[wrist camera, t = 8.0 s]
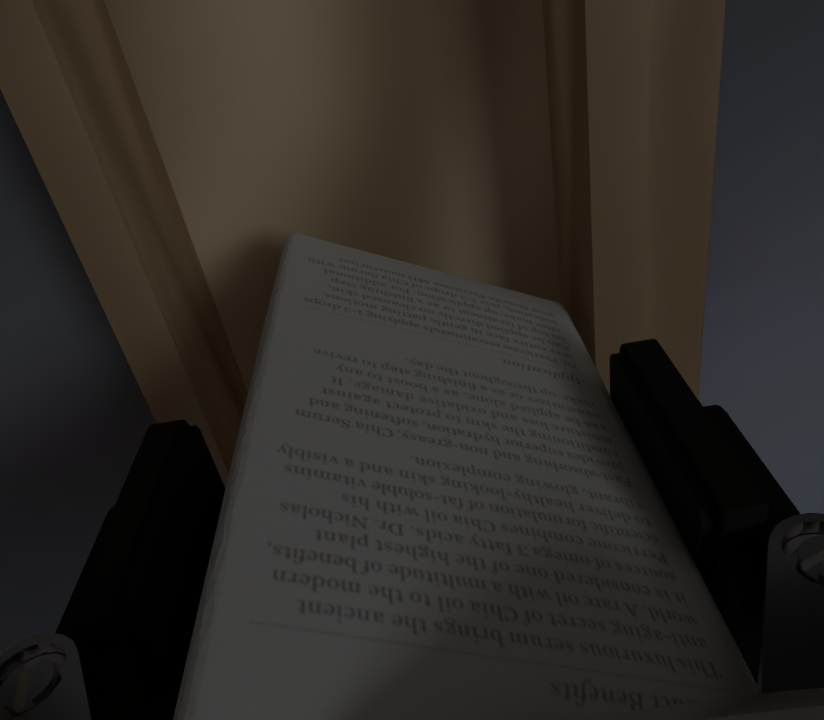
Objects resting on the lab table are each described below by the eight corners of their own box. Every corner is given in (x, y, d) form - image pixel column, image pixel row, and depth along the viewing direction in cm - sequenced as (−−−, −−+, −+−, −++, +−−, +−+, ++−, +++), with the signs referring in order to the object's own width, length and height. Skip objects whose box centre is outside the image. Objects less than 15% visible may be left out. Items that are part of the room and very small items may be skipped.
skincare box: (247, 397, 15) (21, 1295, 5) (288, 223, 13) (40, 1164, 3) (500, 452, 17) (701, 1265, 7) (574, 300, 15) (1034, 1155, 5)
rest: (735, -357, 11) (871, -457, 8) (685, 465, 20) (740, 558, 17) (-106, -178, 12) (-266, -210, 9) (222, 542, 21) (199, 645, 18)
